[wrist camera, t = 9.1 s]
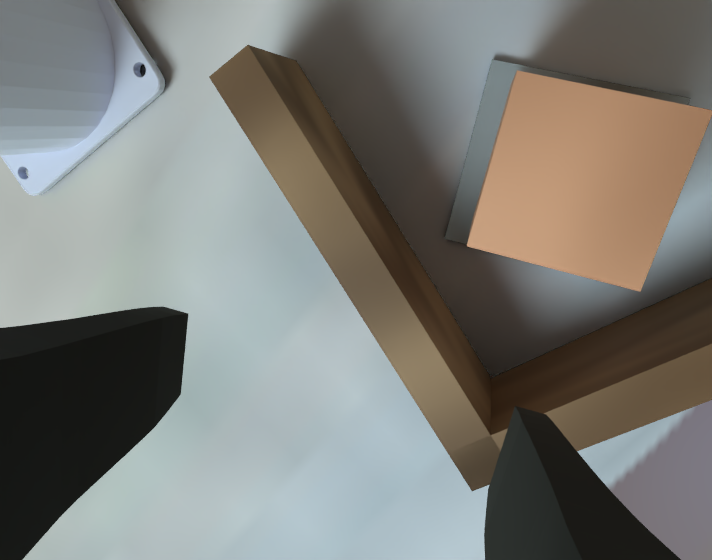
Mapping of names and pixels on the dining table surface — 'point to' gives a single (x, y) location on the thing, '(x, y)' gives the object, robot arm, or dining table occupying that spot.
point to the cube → (585, 178)
